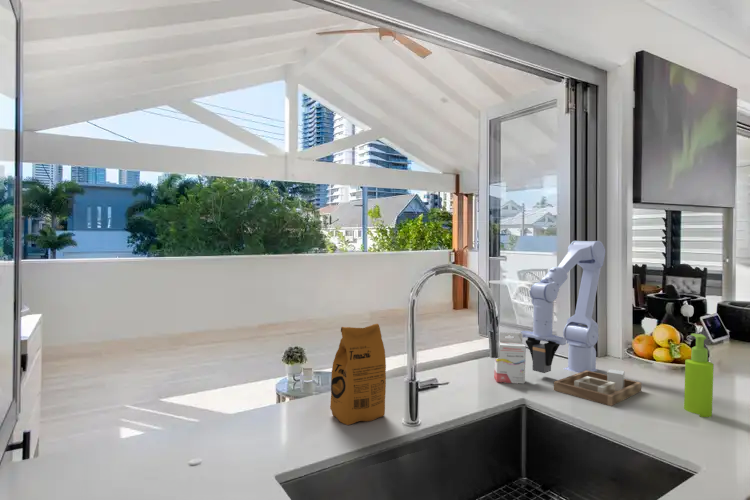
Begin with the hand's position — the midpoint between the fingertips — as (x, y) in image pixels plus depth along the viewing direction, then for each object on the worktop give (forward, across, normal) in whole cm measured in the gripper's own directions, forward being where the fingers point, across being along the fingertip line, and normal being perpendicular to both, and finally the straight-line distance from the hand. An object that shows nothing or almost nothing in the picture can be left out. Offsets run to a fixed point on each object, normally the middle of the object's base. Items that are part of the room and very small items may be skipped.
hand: (542, 363), depth 145 cm
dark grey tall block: (+2, 0, 0) cm, 2 cm away
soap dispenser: (+5, +40, +6) cm, 41 cm away
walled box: (+5, +17, +1) cm, 18 cm away
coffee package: (+5, -11, -65) cm, 66 cm away
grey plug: (+4, +20, +7) cm, 21 cm away
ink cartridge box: (+5, -5, -10) cm, 12 cm away
